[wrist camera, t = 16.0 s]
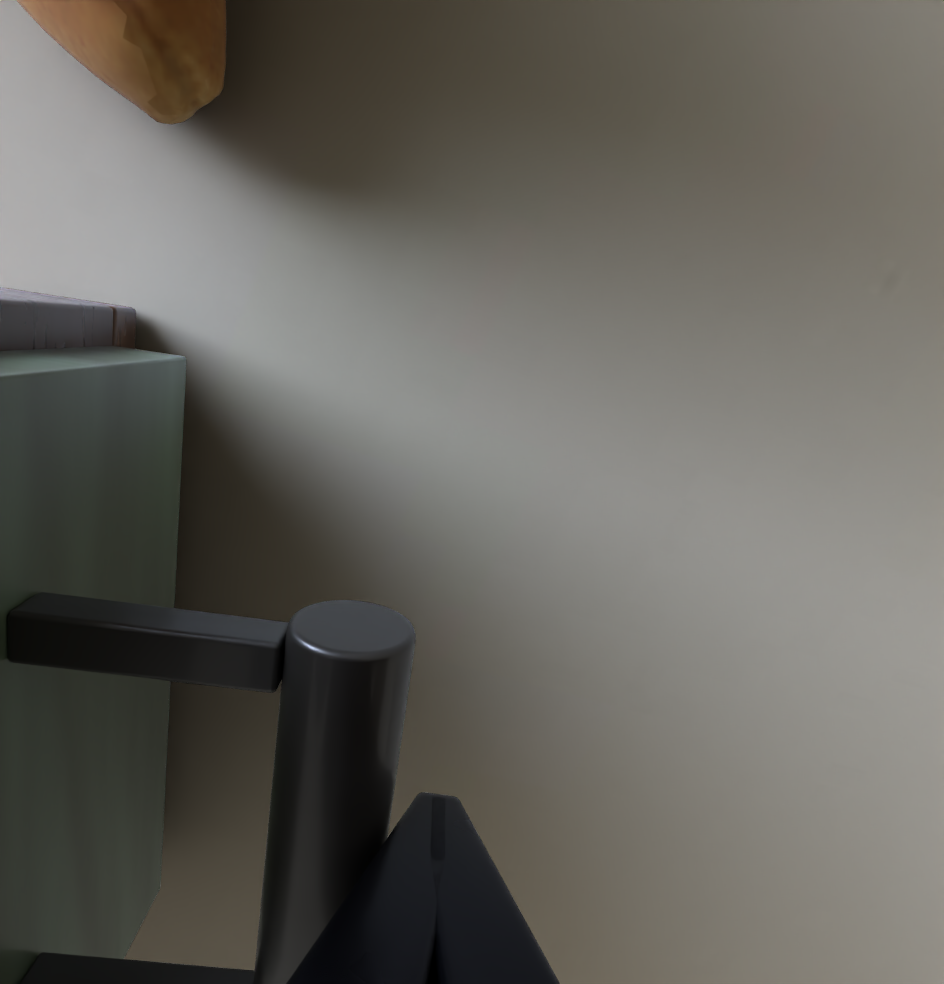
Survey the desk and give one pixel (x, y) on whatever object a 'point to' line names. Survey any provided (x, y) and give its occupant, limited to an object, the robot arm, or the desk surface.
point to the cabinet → (62, 322)
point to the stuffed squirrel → (145, 48)
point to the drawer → (156, 686)
